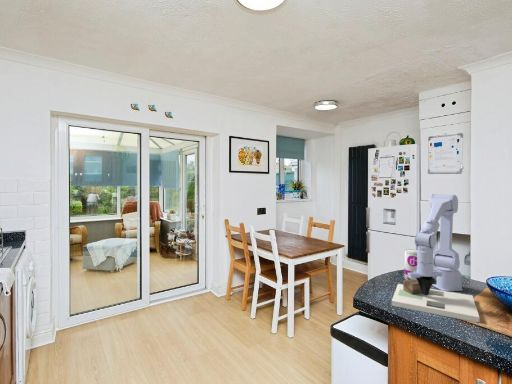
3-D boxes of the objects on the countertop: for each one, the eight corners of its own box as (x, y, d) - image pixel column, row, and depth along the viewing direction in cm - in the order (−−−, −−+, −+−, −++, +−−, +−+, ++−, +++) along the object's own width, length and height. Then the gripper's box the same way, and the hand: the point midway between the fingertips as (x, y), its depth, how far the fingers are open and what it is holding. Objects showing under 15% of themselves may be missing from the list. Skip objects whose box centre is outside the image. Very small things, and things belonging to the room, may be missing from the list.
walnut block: (421, 293, 123) (421, 282, 123) (412, 294, 122) (412, 284, 121) (412, 289, 128) (412, 279, 128) (403, 290, 126) (403, 280, 126)
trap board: (472, 300, 120) (472, 295, 120) (479, 322, 101) (479, 317, 101) (397, 287, 135) (398, 283, 135) (391, 305, 115) (391, 300, 115)
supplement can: (422, 283, 140) (422, 253, 140) (403, 281, 144) (403, 251, 144) (423, 279, 147) (423, 250, 146) (405, 276, 151) (405, 248, 151)
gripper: (433, 258, 124) (433, 289, 124) (402, 260, 122) (402, 291, 122) (446, 262, 117) (446, 295, 117) (414, 264, 115) (414, 298, 115)
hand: (424, 294), depth 119 cm, fingers closed
